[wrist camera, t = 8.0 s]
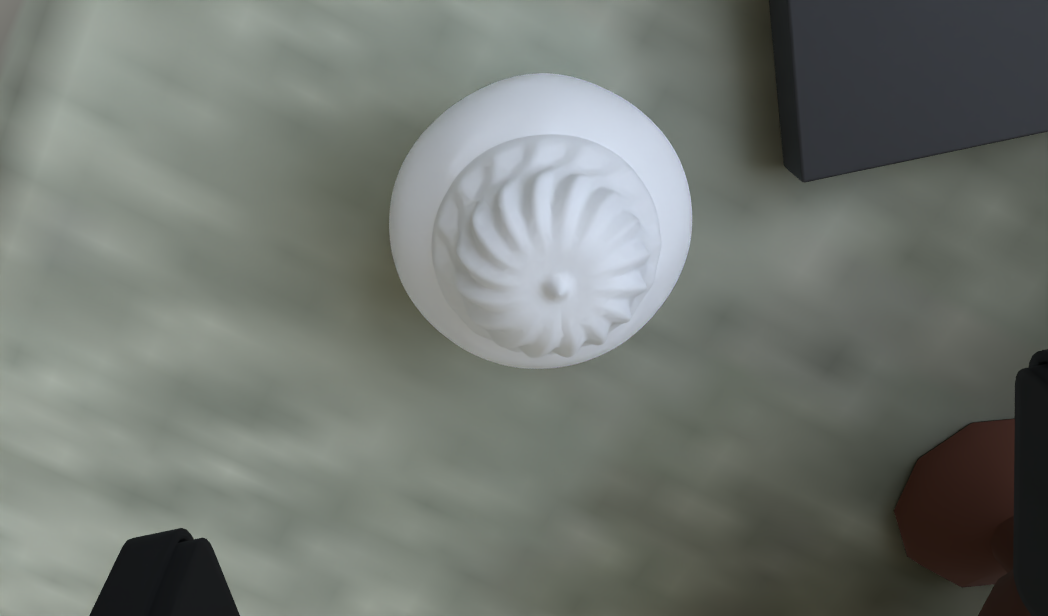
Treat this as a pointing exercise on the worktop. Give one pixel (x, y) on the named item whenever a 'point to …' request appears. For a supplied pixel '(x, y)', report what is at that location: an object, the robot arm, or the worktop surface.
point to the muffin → (540, 221)
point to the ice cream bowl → (966, 513)
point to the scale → (905, 79)
